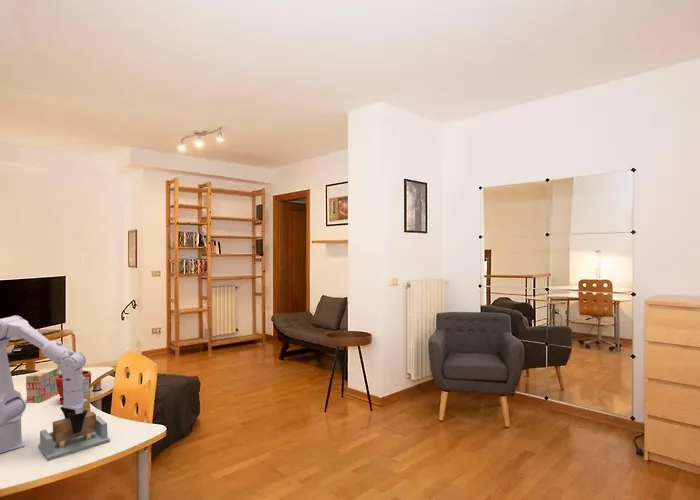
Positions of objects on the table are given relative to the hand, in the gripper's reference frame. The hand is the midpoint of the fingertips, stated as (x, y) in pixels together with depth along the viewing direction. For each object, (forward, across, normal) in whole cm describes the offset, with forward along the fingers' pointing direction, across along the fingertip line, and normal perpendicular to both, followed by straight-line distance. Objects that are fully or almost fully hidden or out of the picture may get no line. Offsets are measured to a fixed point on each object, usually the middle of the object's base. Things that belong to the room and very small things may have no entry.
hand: (74, 429), depth 149 cm
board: (+2, 0, 0) cm, 2 cm away
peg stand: (+5, 0, 0) cm, 5 cm away
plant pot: (+6, +51, -12) cm, 53 cm away
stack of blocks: (+6, +69, -7) cm, 69 cm away
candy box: (+5, +31, -9) cm, 33 cm away
